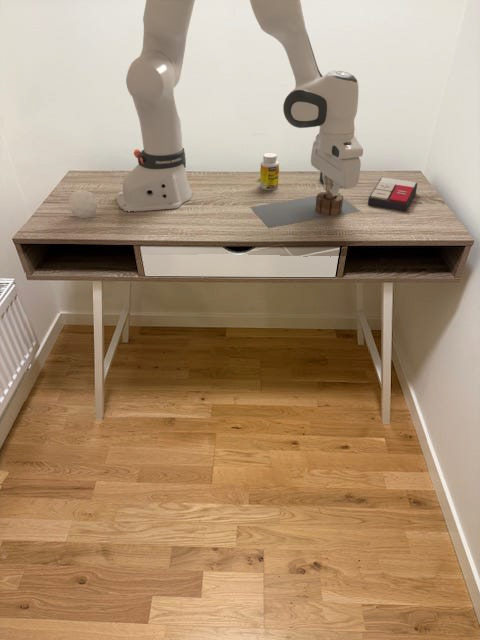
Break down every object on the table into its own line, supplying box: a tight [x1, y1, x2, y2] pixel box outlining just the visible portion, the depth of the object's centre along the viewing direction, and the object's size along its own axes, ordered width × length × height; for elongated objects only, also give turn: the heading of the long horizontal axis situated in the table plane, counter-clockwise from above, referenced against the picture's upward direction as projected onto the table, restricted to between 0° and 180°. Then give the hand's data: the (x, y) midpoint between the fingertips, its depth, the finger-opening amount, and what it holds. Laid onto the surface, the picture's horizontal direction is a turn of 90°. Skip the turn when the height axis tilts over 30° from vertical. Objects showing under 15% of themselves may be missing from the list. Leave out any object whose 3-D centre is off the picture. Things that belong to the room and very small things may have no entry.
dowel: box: [326, 178, 335, 200], centre depth 133 cm, size 2×2×10 cm
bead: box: [315, 190, 344, 217], centre depth 135 cm, size 7×7×4 cm
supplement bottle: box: [259, 152, 280, 191], centre depth 148 cm, size 6×6×10 cm
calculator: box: [367, 177, 418, 212], centre depth 142 cm, size 11×4×15 cm
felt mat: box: [249, 195, 361, 228], centre depth 138 cm, size 28×14×1 cm, turn 110°
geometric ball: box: [68, 189, 99, 220], centre depth 134 cm, size 8×8×8 cm
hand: (330, 192), depth 134 cm, fingers closed on dowel, 2 cm apart
